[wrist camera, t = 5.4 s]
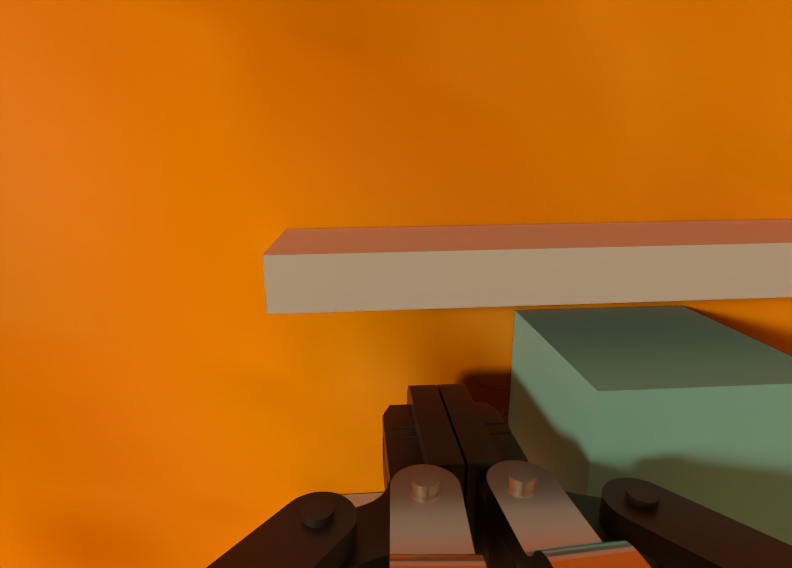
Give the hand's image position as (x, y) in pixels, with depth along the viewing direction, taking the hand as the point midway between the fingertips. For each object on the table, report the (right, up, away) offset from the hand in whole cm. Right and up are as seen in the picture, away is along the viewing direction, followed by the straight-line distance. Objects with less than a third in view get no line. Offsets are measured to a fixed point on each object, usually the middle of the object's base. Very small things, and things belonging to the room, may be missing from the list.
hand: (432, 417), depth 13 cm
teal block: (+5, 0, +2) cm, 5 cm away
